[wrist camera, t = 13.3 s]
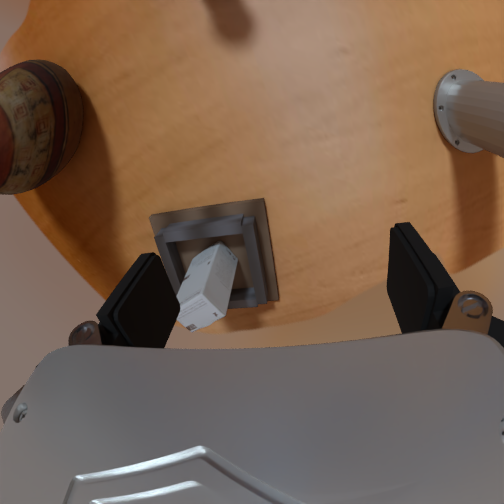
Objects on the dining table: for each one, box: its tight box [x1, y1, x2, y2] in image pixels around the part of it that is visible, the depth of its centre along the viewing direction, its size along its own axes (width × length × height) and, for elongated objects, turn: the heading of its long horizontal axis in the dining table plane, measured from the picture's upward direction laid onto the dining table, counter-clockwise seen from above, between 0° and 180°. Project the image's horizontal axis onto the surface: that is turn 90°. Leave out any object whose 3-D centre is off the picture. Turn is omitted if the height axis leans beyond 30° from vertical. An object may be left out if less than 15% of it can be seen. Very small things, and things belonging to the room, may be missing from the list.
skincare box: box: [176, 241, 238, 332], centre depth 38 cm, size 6×4×12 cm
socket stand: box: [149, 198, 279, 309], centre depth 42 cm, size 17×17×4 cm
